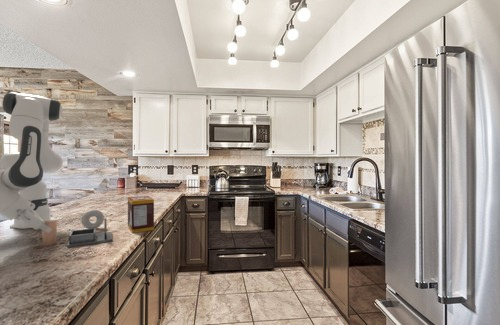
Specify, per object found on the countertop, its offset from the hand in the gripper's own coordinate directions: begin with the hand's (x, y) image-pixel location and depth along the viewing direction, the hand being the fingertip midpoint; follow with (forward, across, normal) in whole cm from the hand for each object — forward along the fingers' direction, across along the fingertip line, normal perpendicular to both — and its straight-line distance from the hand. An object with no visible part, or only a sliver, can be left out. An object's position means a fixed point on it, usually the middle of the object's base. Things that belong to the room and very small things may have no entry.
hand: (48, 228), depth 109 cm
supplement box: (+32, -1, -22) cm, 38 cm away
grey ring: (+18, +14, -9) cm, 25 cm away
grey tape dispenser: (+15, -6, -6) cm, 17 cm away
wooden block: (+5, 0, +4) cm, 6 cm away
